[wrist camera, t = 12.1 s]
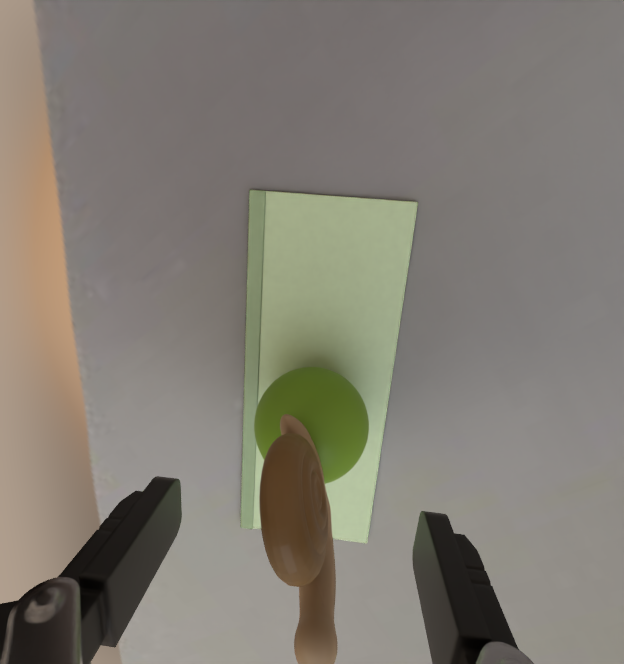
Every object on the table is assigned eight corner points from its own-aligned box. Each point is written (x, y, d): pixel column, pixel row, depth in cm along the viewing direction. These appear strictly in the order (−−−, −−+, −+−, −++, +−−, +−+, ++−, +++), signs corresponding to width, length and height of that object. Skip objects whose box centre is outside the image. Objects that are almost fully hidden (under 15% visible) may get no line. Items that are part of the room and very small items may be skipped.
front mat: (251, 190, 17) (249, 189, 17) (416, 202, 17) (418, 201, 16) (242, 521, 23) (240, 528, 22) (366, 538, 22) (367, 545, 22)
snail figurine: (287, 463, 21) (217, 751, 9) (255, 364, 19) (121, 558, 8) (378, 447, 20) (427, 740, 8) (352, 341, 18) (368, 522, 7)
